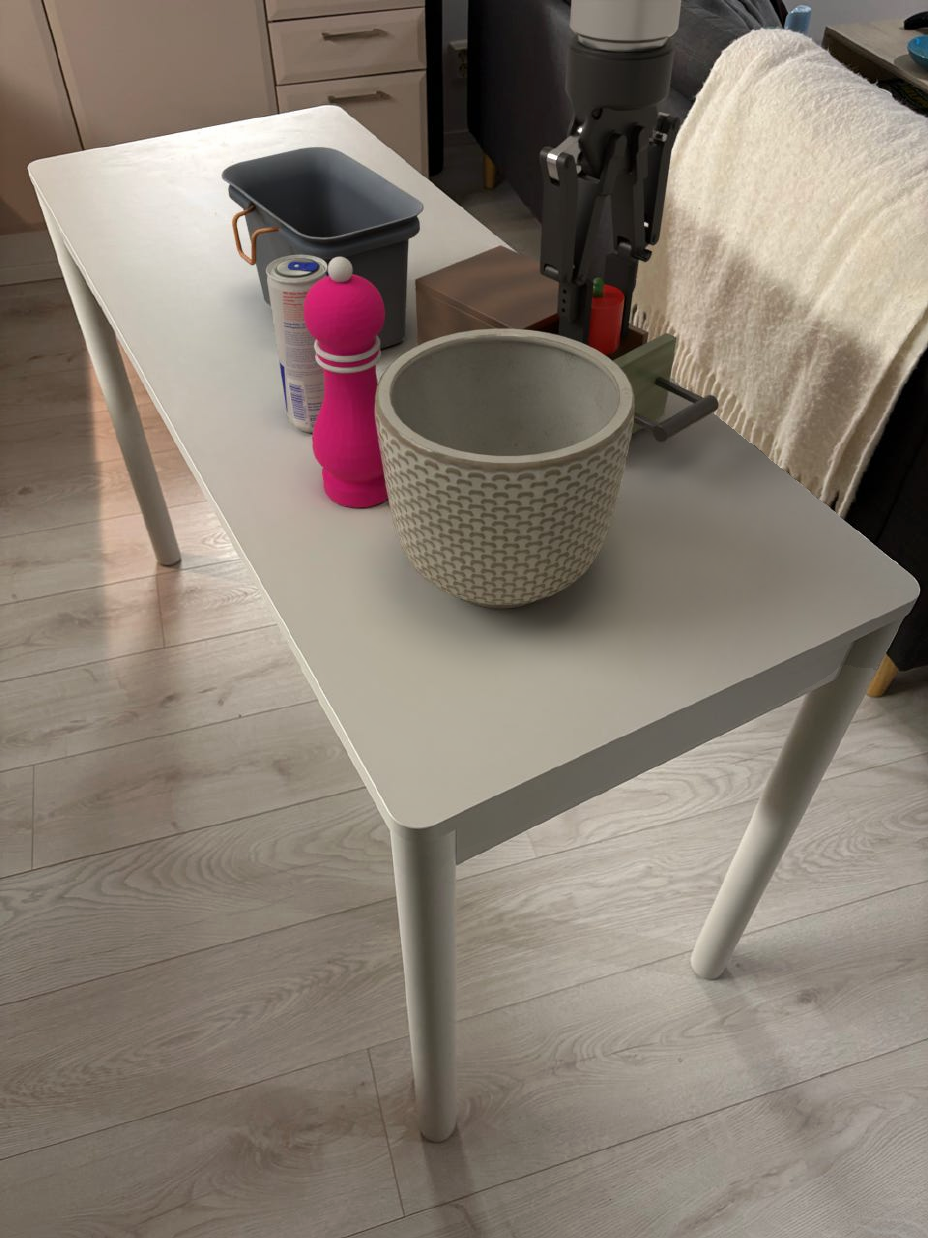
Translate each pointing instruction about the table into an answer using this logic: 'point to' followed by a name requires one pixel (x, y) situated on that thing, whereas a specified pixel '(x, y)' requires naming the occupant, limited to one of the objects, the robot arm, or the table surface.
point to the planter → (503, 460)
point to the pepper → (605, 317)
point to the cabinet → (485, 296)
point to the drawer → (653, 382)
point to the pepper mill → (347, 384)
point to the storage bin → (328, 220)
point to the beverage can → (296, 336)
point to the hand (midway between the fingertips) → (593, 340)
